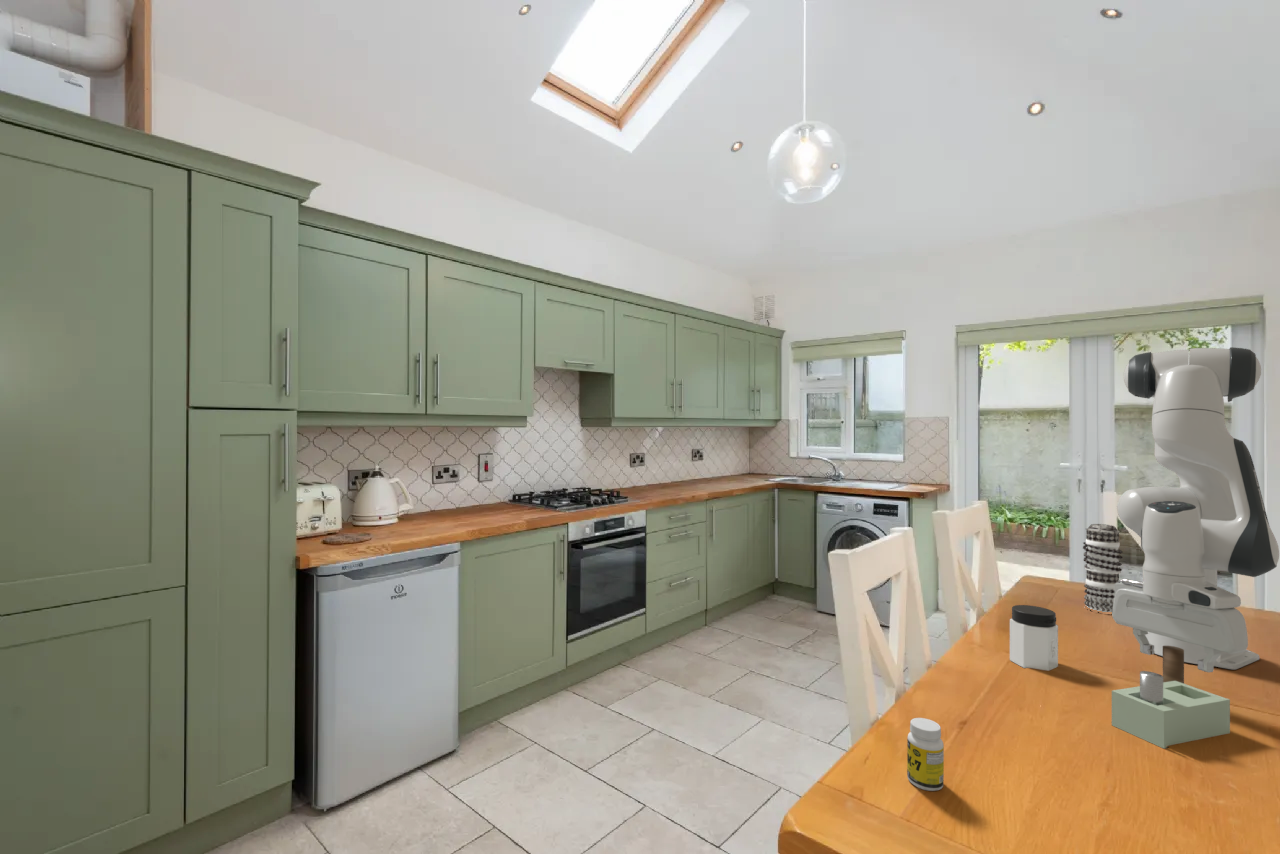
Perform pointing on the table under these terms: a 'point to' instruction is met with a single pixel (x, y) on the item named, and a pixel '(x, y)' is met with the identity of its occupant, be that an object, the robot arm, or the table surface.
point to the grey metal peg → (1151, 687)
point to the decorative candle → (1101, 566)
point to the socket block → (1171, 714)
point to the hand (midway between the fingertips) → (1175, 661)
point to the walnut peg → (1173, 664)
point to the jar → (1034, 637)
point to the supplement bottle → (925, 755)
